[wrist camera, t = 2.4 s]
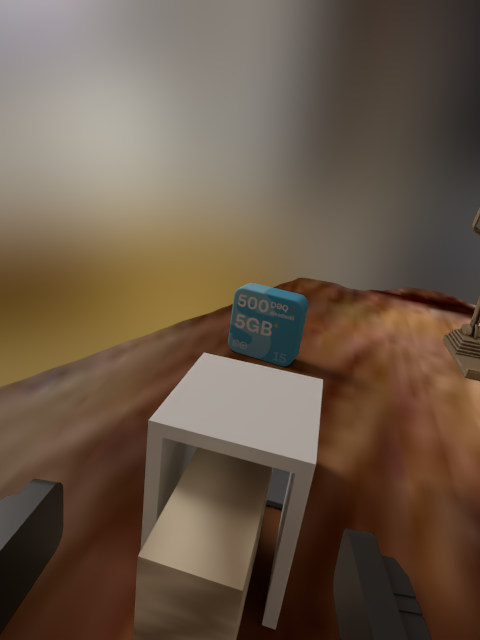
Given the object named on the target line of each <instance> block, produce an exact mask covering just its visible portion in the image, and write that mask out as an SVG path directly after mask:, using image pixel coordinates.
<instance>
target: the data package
mask: <svg viewBox="0 0 480 640" xmlns="http://www.w3.org/2000/svg"><path fill="white" fill-rule="evenodd" d="M307 308H308V301H307V299H306V298H305V297H304V296H303V295H301V294H297V293H292V292H288V291H284V290H280V289H276V288H272V287H267V286H263V285H259V284H255V283H249V284H247V285H245V286H243V287H241V288H239V289H237V290H236V292H235V294H234V302H233V309H232V317H231V324H230V332H229V339H228V344H229V347H230V349H231V350H233V351H234V352H237V353H240V354H243V355H247V356H250V357H253V358H256V359H260V360H263V361H266V362H269V363H273V364H276V365H279V366H283V367H285V366H288V365H290V364H291V363H292V361H293V360H294V359H295V357H296V356H297V355H298V353H299V348H300V343H301V338H302V333H303V328H304V323H305V318H306V313H307Z"/></svg>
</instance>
